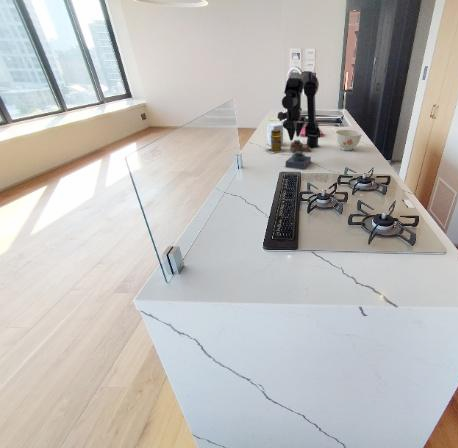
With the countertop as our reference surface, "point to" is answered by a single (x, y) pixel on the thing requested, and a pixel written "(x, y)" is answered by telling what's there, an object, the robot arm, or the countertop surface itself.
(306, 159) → the dispenser
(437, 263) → the countertop surface
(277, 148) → the condiment
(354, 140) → the bowl
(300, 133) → the dish towel
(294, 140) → the nozzle
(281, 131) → the white packaging box
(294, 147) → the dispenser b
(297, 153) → the nozzle
